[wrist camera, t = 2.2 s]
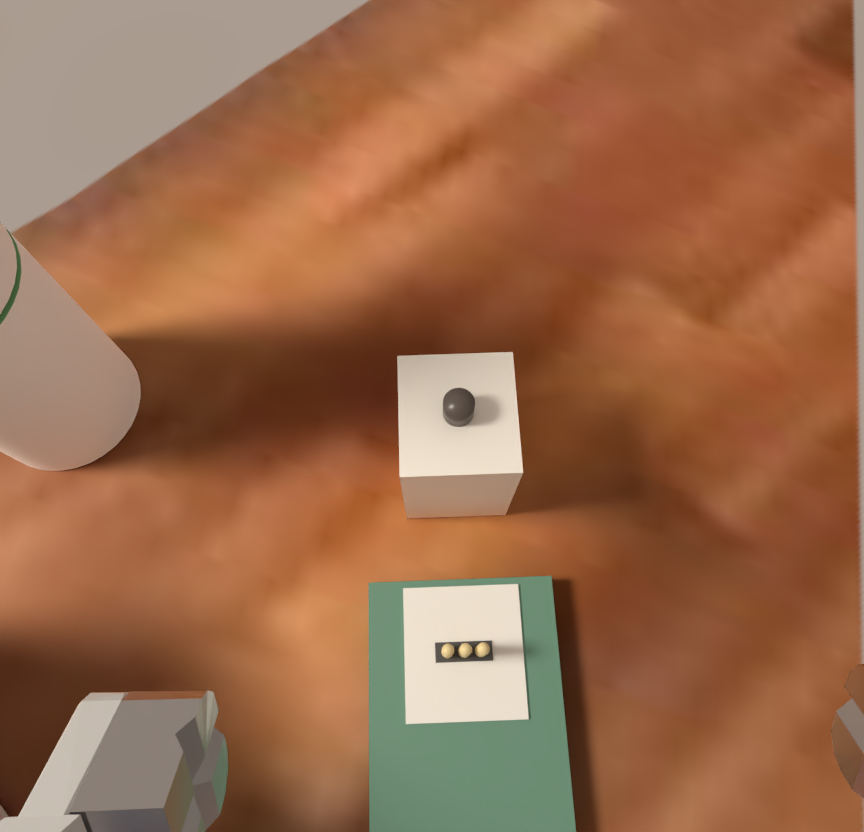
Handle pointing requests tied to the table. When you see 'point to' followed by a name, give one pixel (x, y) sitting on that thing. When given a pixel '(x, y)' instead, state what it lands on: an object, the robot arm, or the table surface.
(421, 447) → the block
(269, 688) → the table surface
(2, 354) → the cylindrical container
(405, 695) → the header board
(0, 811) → the stereo radio cassette player
